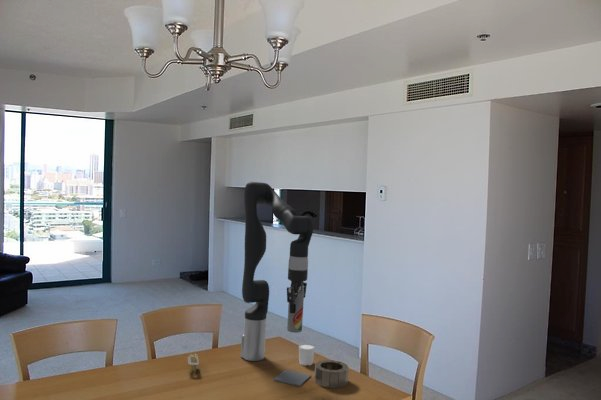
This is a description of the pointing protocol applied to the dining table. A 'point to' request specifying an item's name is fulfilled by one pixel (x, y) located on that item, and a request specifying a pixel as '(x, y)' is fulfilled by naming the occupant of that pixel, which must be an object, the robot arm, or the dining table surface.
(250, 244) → the robot arm
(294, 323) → the lotion bottle
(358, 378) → the dining table surface
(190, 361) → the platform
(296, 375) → the rubber mat
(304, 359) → the white cylinder
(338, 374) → the collar
